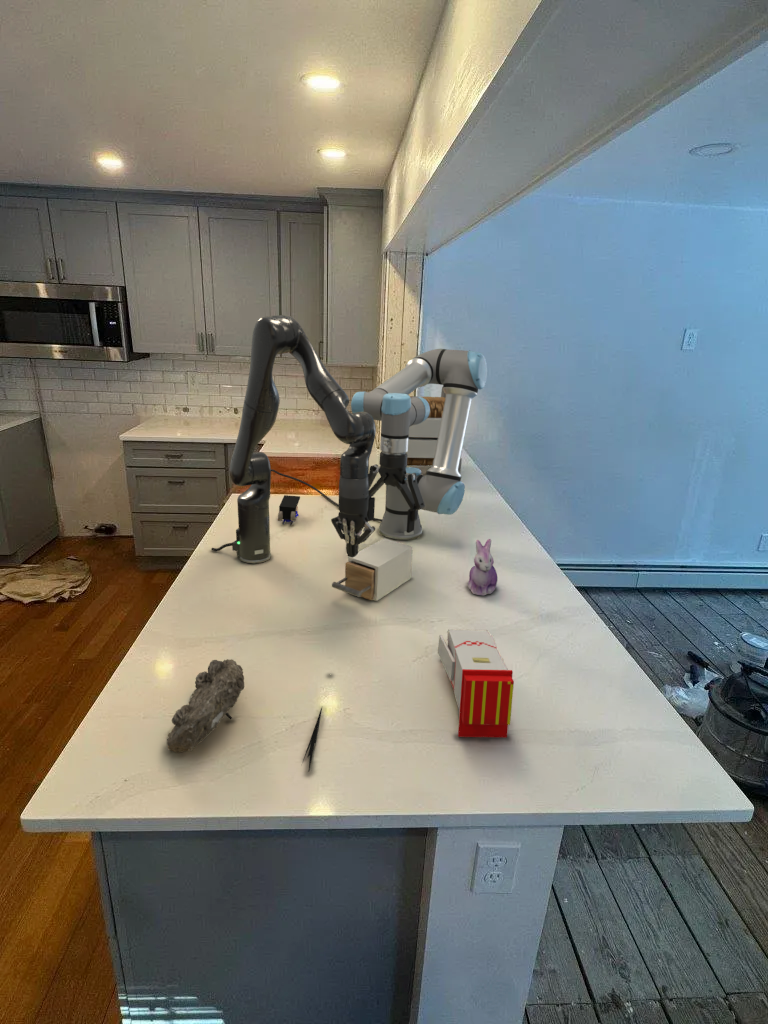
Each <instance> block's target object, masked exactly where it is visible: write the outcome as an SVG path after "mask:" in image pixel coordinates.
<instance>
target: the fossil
mask: <svg viewBox="0 0 768 1024" xmlns="http://www.w3.org/2000/svg"><path fill="white" fill-rule="evenodd" d="M243 670H244V669H243V667H242V665H240V664H237V662H236V661H235V660H234V659H232V658H231V659H227V658H226V659H224V660H223V661H222V660H217V659H212V660H211V661H210V663H209V665H208V666H207V671H201V672H199V673H198V674H197V675H196V676H195V680H194V684H195V685H194V687H195V689H194V690H193V693H192V694H191V697H190V698H189V700H188V704H184V705H182V706H181V707H180V709H177V710H176V711H175V713H174V715H173V716H172V718H171V723H172V724H173V727H172V730H171V731H170V732H168V734H167V738H166V741H167V742H166V745H167V749H168V750H169V751H173V752H174V753H176V754H178V753H182V752H188V751H189V752H192V751H193V750H195V748H196V747H197V746H199V744H200V743H201V742H203V741H204V740H205V739H206V738H207V737H208V736H209V735H210V734H211V733H212V732H214V730H215V729H217V727H218V726H219V724H220V722H221V721H222V720H223V719H224V718H225V716H226V717H227V719H229V720H233V717H232V715H230V714H229V710H230V709H231V708H234V706H235V704H236V703H237V702H238V699H239V697H240V695H241V693H242V691H243V690H245V689H244V688H245V675H244V671H243Z"/></svg>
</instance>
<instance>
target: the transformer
mask: <svg viewBox="0 0 768 1024" xmlns="http://www.w3.org/2000/svg"><path fill="white" fill-rule="evenodd" d="M440 393H441V394H440V396H421V397H422V398H424V399H425V400H426V401H427V402H428V404H429V406H430V413H429V416H428V418H427V419H426V420H425V421H423V422H421V423H420V424H417V425H412V426H410V427H409V438H408V451H407V452H406V453H407V466H406V467H410V466H411V467H417V466H418V467H432V466H433V461H434V455H435V450H436V445H437V440H438V434H439V429H440V424H441V419H442V414H443V408H444V403H445V398H446V394H445V392H444V391H443V386H442V387H441V392H440ZM409 396H410V397H413V395H412V396H411V395H409ZM416 397H419V396H416ZM462 453H463V450H462V451H461V454H462ZM462 461H463V460H462V455H461V456H460V462H459V467H458V472H459V474H460V475H461V472H462Z"/></svg>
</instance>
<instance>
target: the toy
mask: <svg viewBox="0 0 768 1024" xmlns="http://www.w3.org/2000/svg"><path fill="white" fill-rule="evenodd" d="M446 640H447V643H446V641H445V639H444V636H443V635H442V634H439V637H438V646H437V656H438V657H439V659H440V661H441V663H442V666H443V668H444V670H445V672H446V674H447V677H448V679H449V681H450V684H451V687H452V690H453V693H454V697H455V701H456V705H457V708H458V711H459V714H458V715H459V716H458V730H457V731H458V732H457V737H458V738H508V731H509V726H510V725H511V717H512V707H513V697H514V696H513V695H514V684H515V680H514V679H513V673H514V671H513V670H512V669H508V667H507V665H506V662H505V661H504V659H503V658H502V655H501V653H500V651H499V649H498V647H497V643H496V639H495V637H494V635H493V634H491V632H490V631H489V629H467V628H466V629H465V628H463V629H461V628H460V629H459V628H448V630H447V639H446Z"/></svg>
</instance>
